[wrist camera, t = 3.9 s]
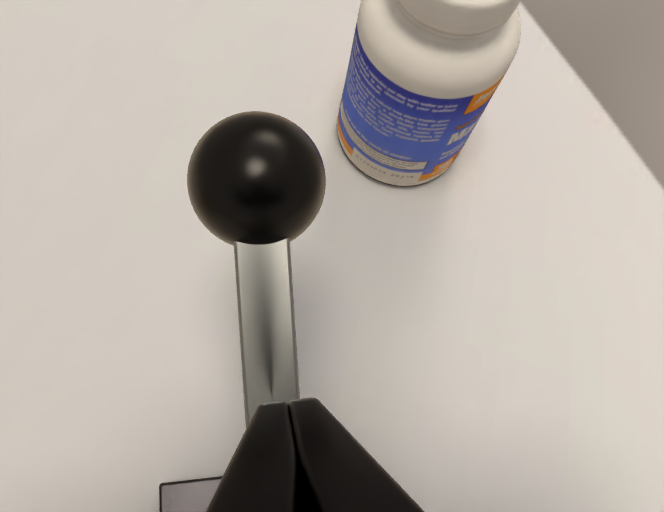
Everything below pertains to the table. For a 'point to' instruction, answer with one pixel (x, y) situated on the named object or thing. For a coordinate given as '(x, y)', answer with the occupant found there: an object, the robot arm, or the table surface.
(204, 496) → the bracket
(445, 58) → the pill bottle
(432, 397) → the table surface
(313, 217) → the lever
